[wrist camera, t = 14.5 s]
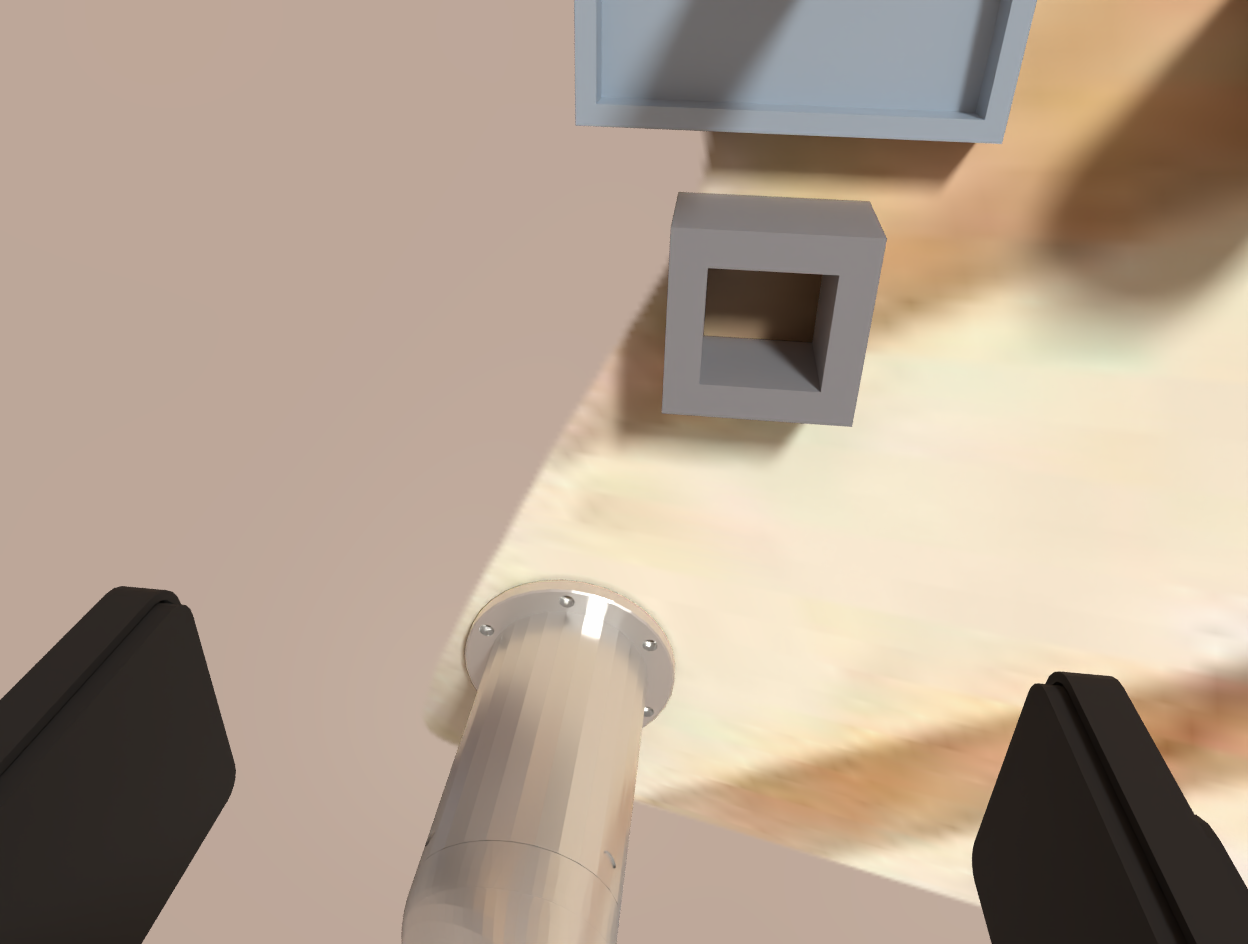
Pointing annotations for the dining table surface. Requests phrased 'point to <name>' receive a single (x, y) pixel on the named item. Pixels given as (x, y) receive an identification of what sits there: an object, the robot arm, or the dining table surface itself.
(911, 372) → the dining table surface
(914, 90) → the tray
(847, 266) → the socket block
